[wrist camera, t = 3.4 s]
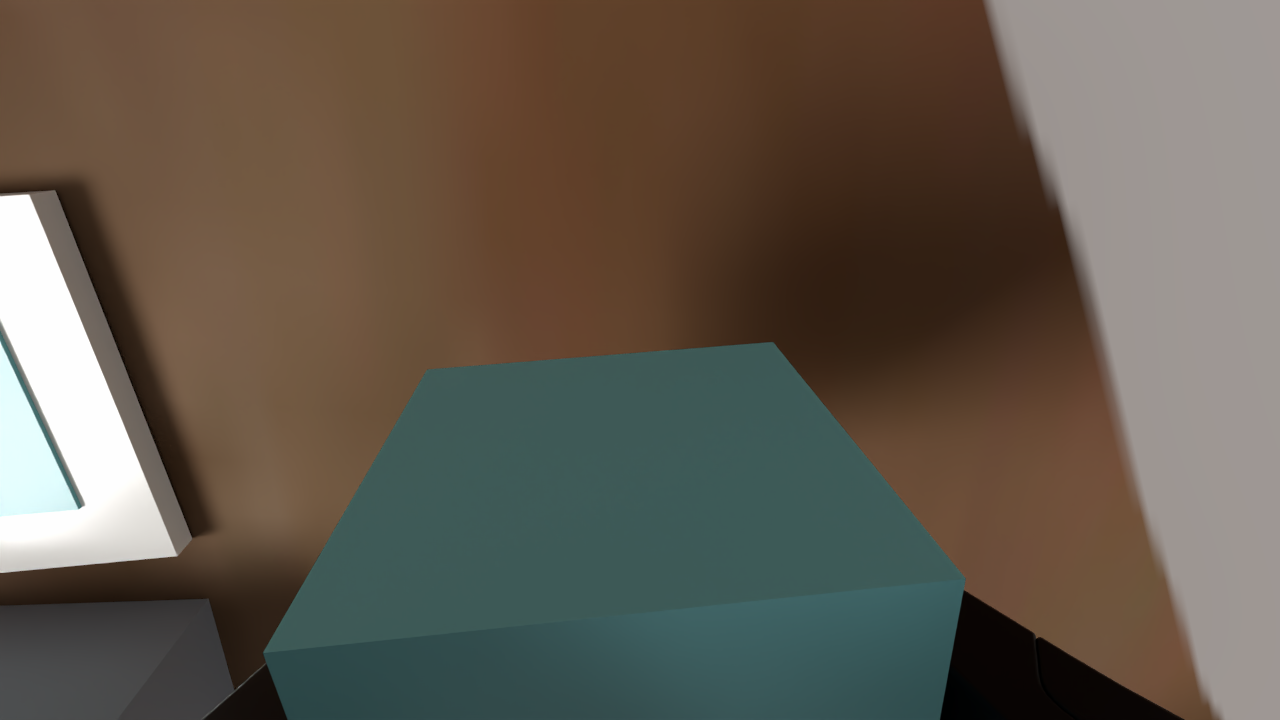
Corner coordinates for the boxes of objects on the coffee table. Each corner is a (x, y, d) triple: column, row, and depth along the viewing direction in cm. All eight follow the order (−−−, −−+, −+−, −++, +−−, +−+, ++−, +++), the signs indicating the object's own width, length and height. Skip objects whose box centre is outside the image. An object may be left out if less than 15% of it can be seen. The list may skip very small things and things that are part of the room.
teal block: (764, 606, 11) (895, 959, 7) (479, 635, 11) (404, 1031, 6) (772, 342, 9) (965, 579, 5) (427, 369, 9) (261, 653, 4)
